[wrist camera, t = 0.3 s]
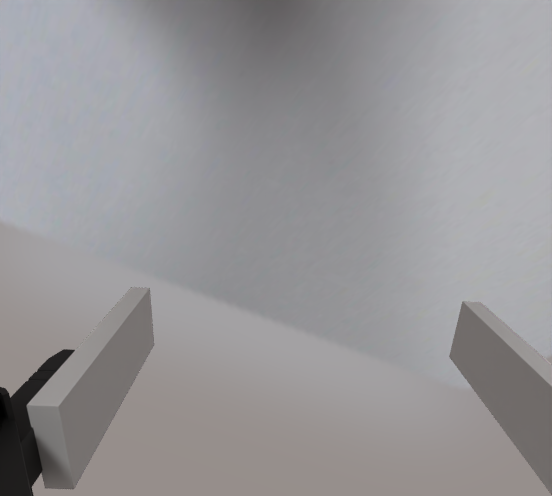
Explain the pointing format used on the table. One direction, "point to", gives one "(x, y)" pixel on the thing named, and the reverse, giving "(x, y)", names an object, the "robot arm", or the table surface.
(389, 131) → the table surface
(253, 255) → the table surface
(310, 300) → the table surface
